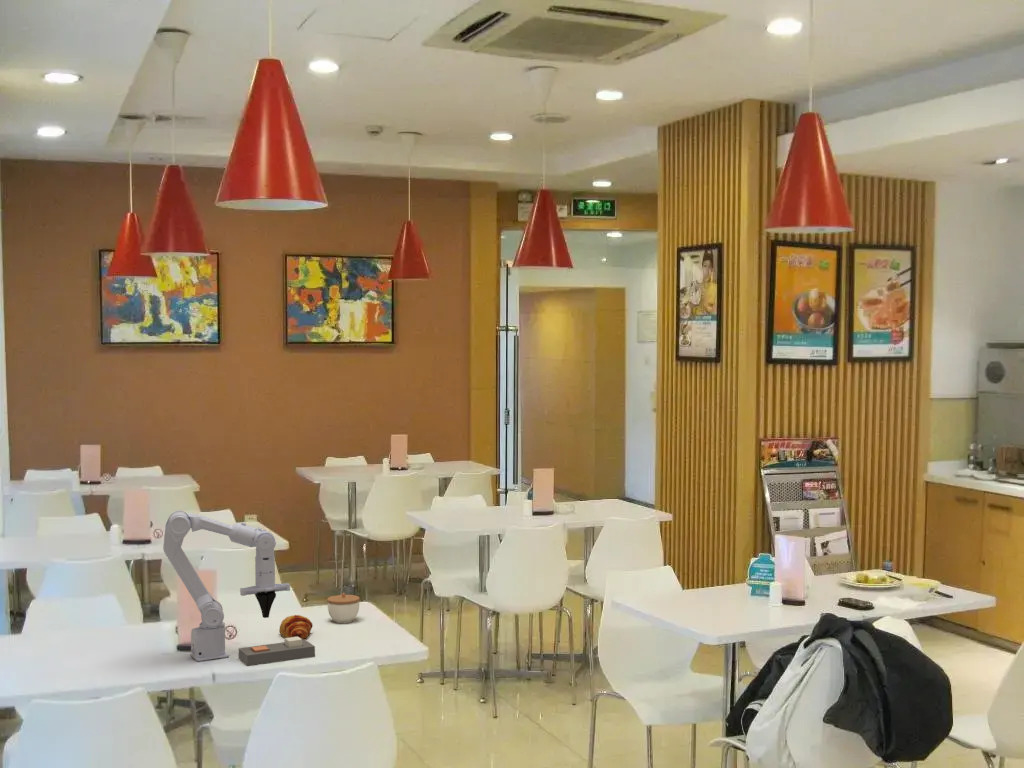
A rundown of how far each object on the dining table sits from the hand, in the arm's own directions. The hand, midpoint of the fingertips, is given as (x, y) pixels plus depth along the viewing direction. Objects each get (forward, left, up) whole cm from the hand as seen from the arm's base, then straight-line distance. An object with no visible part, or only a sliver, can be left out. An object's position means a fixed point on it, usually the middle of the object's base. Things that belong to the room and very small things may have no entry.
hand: (265, 617), depth 319 cm
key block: (+1, -8, -10) cm, 13 cm away
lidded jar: (+34, +25, -11) cm, 44 cm away
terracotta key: (-4, -8, -10) cm, 13 cm away
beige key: (+6, -8, -9) cm, 13 cm away
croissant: (+14, +15, -11) cm, 24 cm away
